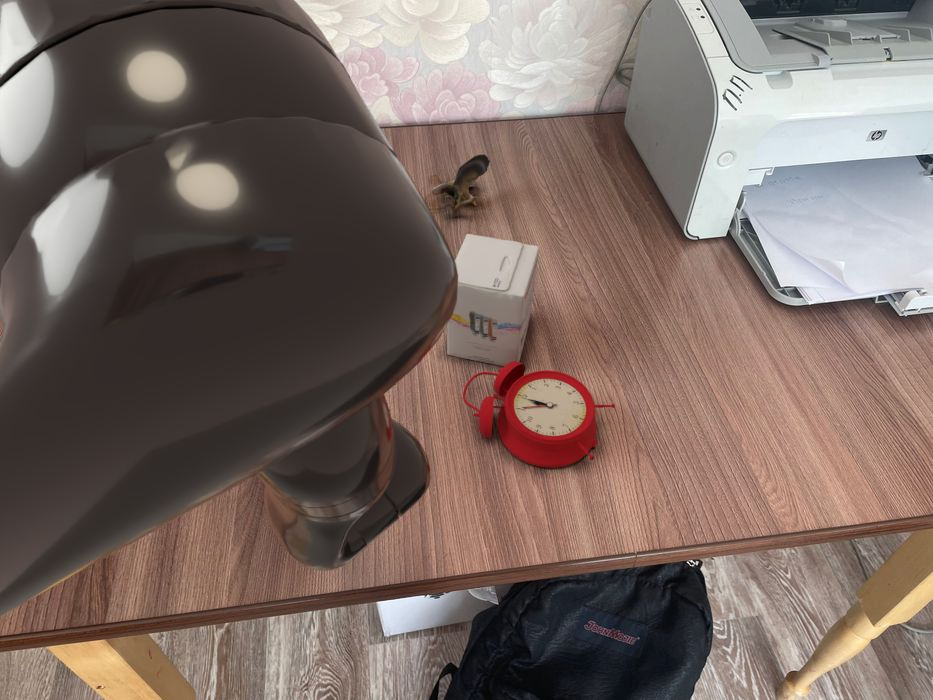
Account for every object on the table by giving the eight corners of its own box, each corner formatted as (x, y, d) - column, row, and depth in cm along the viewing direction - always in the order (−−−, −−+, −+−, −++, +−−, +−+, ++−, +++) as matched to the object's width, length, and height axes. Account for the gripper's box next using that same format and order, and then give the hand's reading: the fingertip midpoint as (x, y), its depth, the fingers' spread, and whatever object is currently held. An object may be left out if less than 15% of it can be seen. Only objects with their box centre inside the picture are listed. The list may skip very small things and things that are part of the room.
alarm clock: (594, 468, 67) (455, 394, 69) (571, 496, 72) (442, 426, 74) (624, 391, 74) (497, 325, 75) (601, 421, 79) (482, 358, 80)
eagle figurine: (492, 217, 97) (501, 170, 102) (464, 182, 92) (475, 135, 97) (447, 231, 101) (458, 186, 106) (418, 199, 96) (430, 153, 101)
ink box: (463, 305, 87) (466, 228, 78) (531, 319, 86) (542, 243, 77) (444, 355, 81) (444, 279, 73) (516, 371, 80) (526, 295, 71)
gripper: (297, 268, 54) (195, 173, 62) (115, 356, 48) (27, 237, 55) (309, 335, 60) (215, 240, 68) (148, 423, 53) (64, 306, 61)
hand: (130, 239), depth 61 cm, fingers open, 8 cm apart
